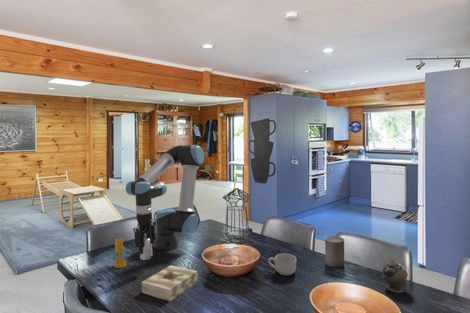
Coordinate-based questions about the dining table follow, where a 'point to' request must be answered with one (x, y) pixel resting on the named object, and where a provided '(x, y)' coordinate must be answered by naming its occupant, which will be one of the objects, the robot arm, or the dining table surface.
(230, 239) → the geometric lantern
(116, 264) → the orange post with rings
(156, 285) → the jig
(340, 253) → the pillar candle
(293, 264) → the teacup
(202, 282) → the dining table surface
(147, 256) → the grey metal peg
